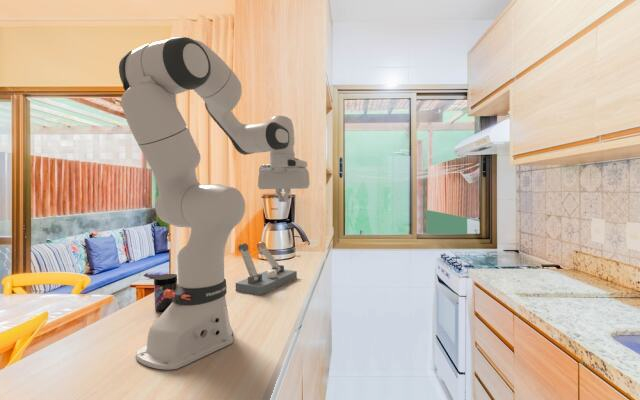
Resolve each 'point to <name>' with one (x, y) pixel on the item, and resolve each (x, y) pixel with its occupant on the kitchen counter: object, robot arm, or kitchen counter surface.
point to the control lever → (268, 256)
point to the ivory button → (272, 273)
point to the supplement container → (160, 286)
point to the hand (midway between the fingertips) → (283, 201)
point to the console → (266, 282)
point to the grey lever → (248, 261)
